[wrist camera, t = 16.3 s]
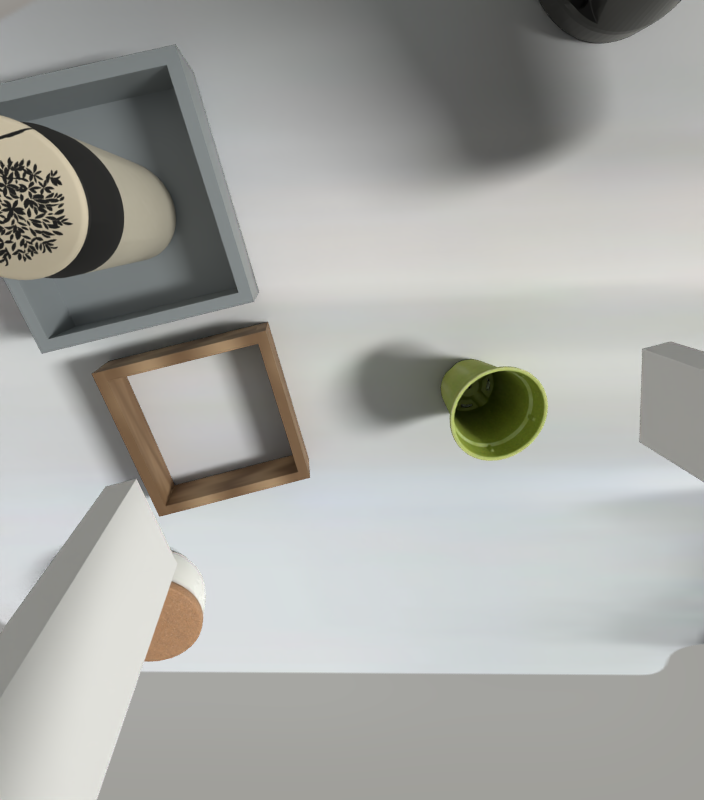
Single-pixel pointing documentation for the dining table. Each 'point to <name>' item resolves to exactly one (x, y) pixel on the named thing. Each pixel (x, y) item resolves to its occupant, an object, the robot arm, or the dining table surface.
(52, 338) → the slate bin
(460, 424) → the plant pot
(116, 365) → the walnut frame
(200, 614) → the lidded jar
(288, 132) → the dining table surface
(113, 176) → the travel mug
